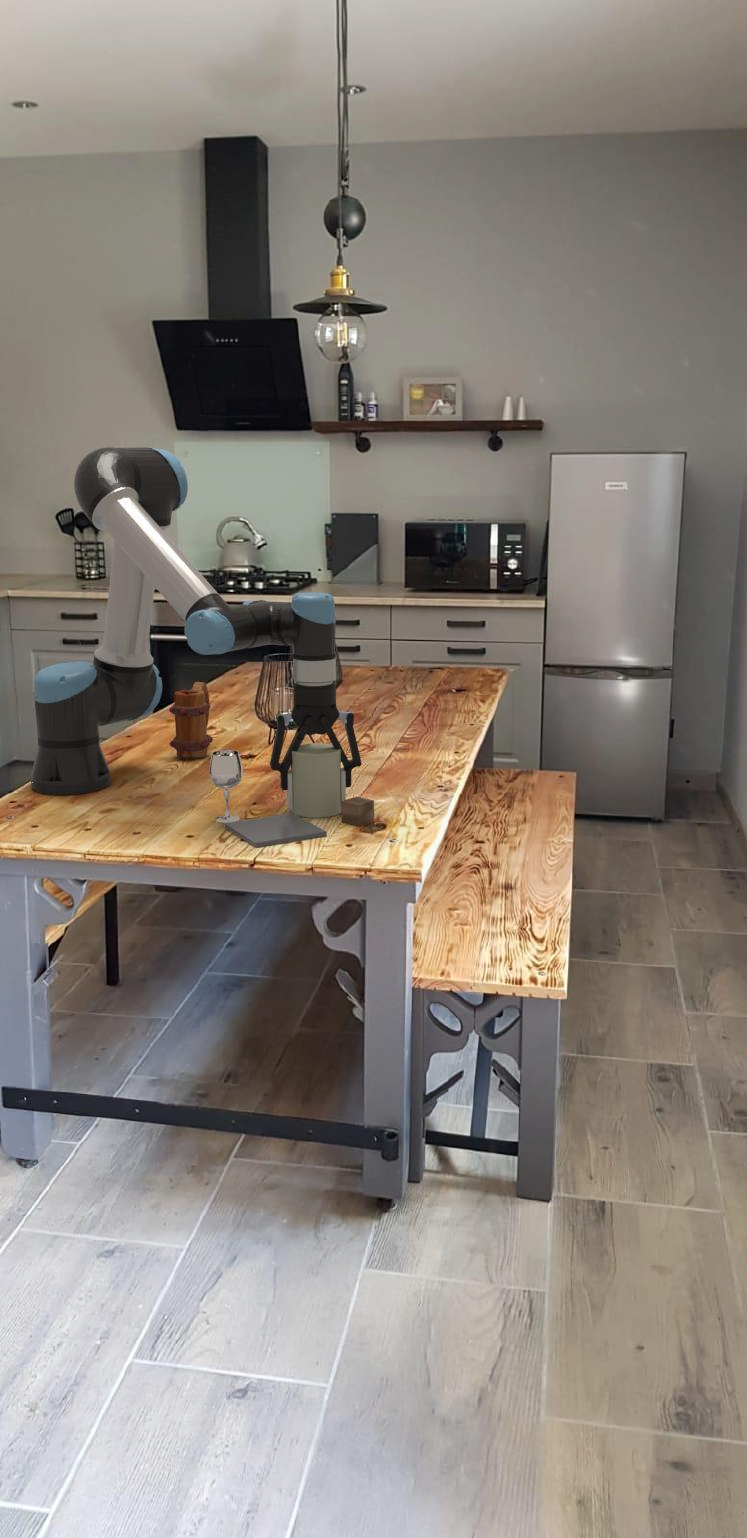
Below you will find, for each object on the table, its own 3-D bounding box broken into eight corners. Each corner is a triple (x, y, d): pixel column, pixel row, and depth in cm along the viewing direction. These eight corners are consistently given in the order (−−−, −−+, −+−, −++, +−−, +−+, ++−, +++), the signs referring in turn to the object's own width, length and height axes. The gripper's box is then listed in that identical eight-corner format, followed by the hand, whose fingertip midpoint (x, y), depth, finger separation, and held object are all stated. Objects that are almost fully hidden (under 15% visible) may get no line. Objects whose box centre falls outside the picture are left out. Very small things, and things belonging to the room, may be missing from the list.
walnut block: (358, 827, 211) (358, 805, 210) (341, 823, 213) (341, 801, 212) (374, 822, 214) (373, 800, 213) (356, 818, 216) (356, 796, 215)
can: (314, 801, 227) (313, 738, 224) (352, 810, 221) (352, 745, 218) (280, 812, 220) (278, 746, 217) (318, 821, 214) (317, 754, 211)
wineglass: (245, 814, 218) (243, 749, 215) (242, 823, 213) (240, 756, 210) (212, 815, 218) (210, 749, 215) (209, 824, 212) (207, 756, 209)
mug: (202, 762, 256) (200, 692, 253) (165, 761, 258) (162, 690, 254) (224, 747, 270) (222, 680, 267) (189, 746, 272) (187, 679, 268)
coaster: (255, 847, 199) (255, 842, 199) (224, 827, 210) (224, 823, 210) (326, 835, 206) (326, 831, 205) (292, 817, 216) (292, 812, 216)
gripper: (371, 676, 220) (371, 797, 226) (251, 680, 217) (254, 803, 222) (378, 683, 213) (379, 808, 218) (254, 687, 209) (257, 814, 215)
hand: (316, 805), depth 220 cm, fingers closed on can, 9 cm apart
